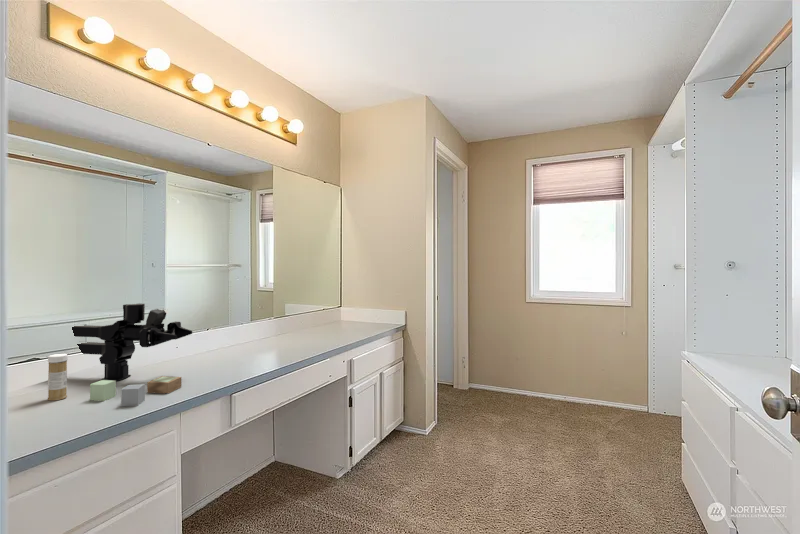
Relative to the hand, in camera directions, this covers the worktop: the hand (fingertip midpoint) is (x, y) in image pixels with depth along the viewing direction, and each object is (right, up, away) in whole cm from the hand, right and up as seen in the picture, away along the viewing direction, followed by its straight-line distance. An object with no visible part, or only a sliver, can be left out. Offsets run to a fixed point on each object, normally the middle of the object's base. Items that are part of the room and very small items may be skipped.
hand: (184, 334), depth 143 cm
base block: (-1, -17, -10) cm, 19 cm away
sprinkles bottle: (-28, -16, -20) cm, 38 cm away
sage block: (-15, -17, -19) cm, 29 cm away
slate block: (-3, -17, -23) cm, 28 cm away
